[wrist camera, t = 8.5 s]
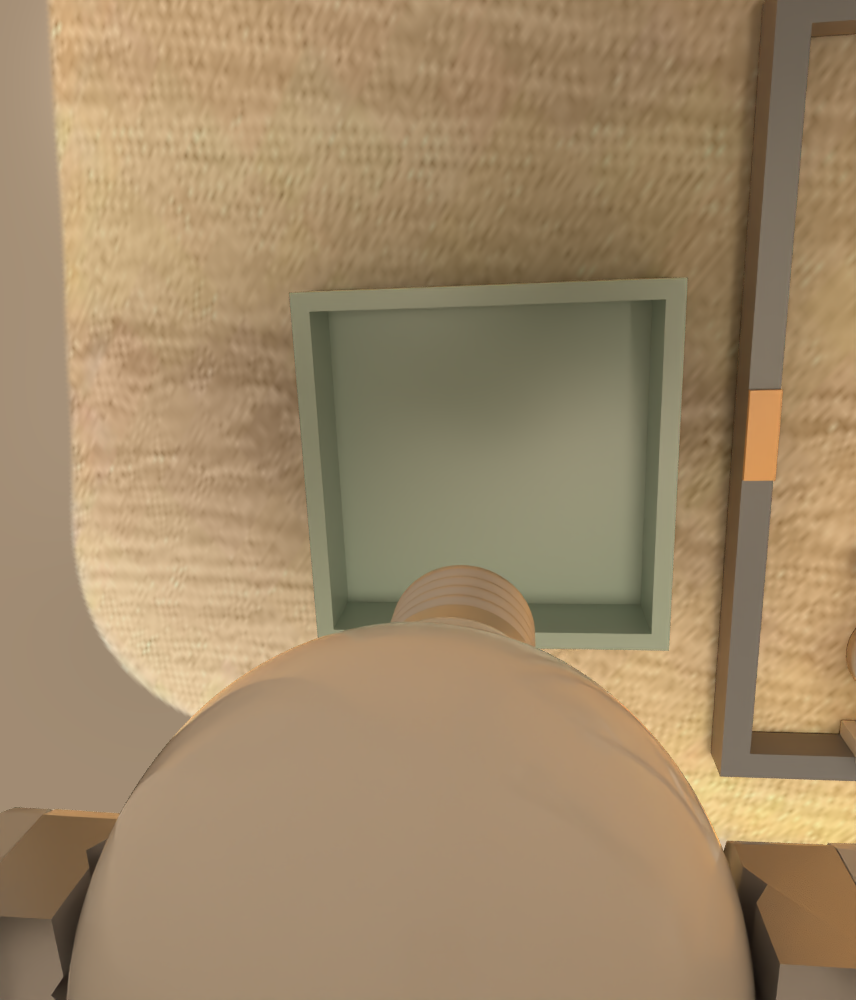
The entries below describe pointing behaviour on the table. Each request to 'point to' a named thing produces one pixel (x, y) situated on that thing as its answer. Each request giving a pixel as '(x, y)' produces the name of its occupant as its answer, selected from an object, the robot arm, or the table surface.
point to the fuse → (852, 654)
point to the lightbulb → (414, 832)
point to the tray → (496, 448)
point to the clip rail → (768, 404)
